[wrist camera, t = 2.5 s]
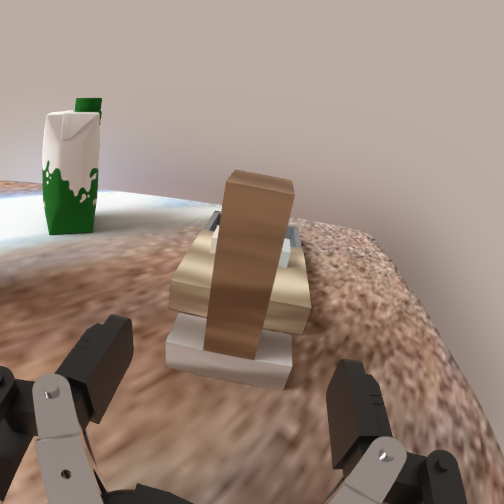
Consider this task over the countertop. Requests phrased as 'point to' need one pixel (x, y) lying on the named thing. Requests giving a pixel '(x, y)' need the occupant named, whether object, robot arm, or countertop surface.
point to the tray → (291, 234)
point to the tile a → (214, 241)
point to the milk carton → (71, 167)
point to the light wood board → (282, 297)
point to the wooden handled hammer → (240, 291)
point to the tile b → (285, 254)
